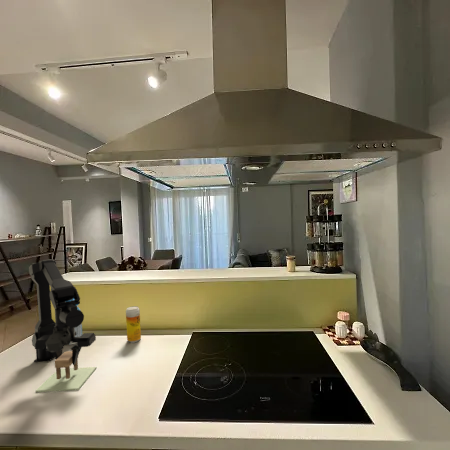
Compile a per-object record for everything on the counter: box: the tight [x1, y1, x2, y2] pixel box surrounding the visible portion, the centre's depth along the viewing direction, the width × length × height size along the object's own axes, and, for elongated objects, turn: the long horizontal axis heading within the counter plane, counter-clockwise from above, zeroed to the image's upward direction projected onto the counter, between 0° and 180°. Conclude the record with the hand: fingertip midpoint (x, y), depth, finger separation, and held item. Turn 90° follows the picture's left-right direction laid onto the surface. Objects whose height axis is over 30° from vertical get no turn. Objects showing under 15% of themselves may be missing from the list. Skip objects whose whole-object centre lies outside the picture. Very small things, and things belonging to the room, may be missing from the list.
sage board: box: [35, 366, 97, 393], centre depth 105 cm, size 14×14×1 cm
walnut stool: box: [54, 350, 79, 379], centre depth 105 cm, size 7×4×6 cm, turn 1°
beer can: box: [125, 306, 142, 344], centre depth 137 cm, size 6×6×15 cm
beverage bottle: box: [65, 298, 83, 346], centre depth 138 cm, size 8×8×20 cm
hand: (67, 364), depth 105 cm, fingers closed on walnut stool, 4 cm apart
